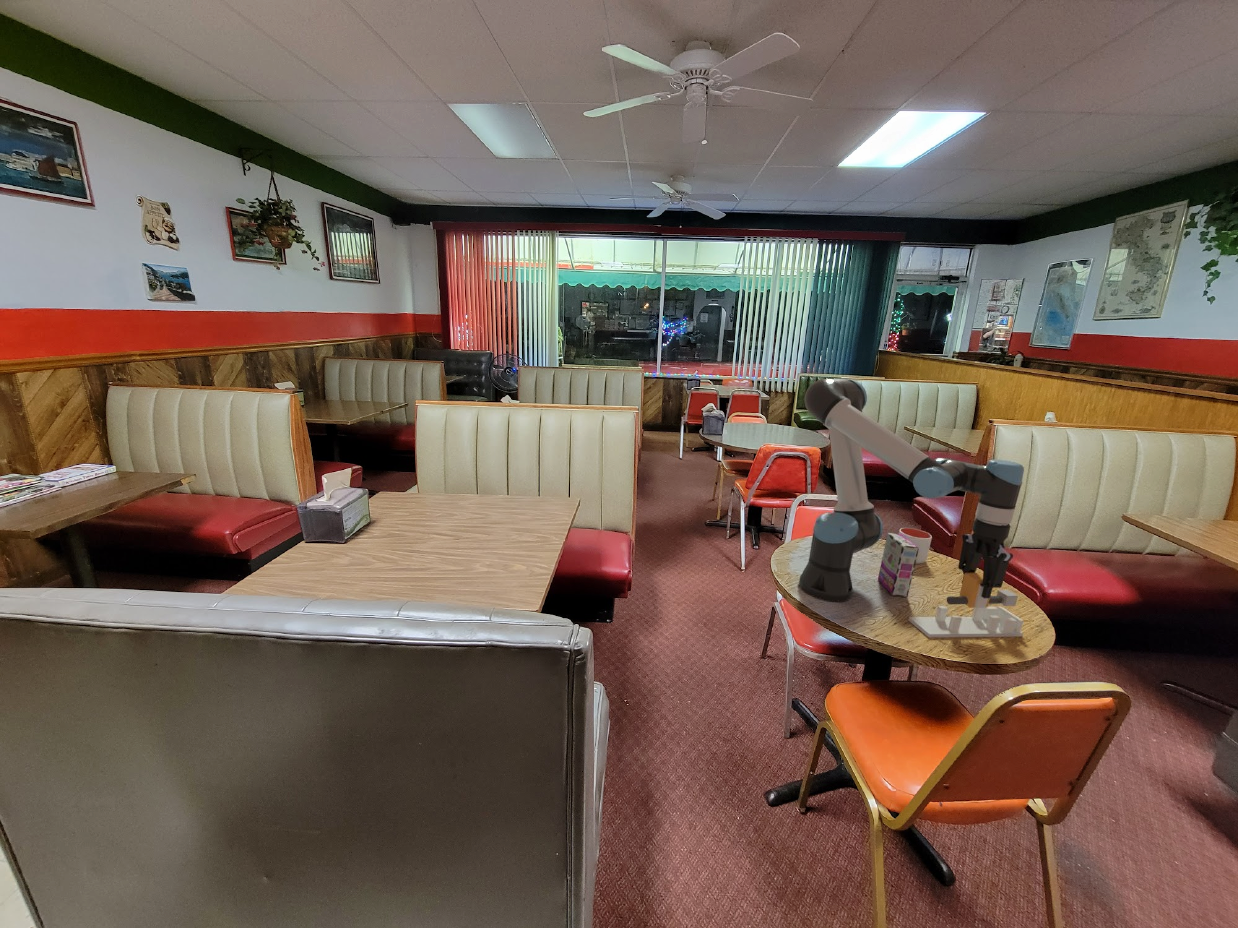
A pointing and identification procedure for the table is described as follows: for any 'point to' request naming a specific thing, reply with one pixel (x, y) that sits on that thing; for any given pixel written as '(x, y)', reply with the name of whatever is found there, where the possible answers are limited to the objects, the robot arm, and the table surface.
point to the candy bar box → (898, 564)
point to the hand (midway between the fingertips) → (972, 602)
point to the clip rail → (971, 624)
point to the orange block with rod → (971, 589)
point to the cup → (918, 542)
